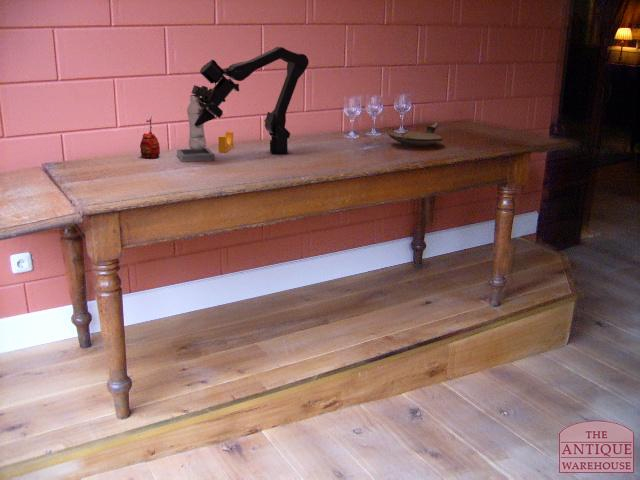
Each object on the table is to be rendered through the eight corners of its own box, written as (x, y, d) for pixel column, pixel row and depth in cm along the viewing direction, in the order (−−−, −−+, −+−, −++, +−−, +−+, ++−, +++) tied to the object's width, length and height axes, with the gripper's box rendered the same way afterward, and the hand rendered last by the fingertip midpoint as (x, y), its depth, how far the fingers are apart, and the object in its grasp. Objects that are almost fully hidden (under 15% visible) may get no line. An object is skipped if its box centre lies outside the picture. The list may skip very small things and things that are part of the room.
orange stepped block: (223, 147, 271) (222, 131, 269) (233, 147, 270) (233, 131, 268) (214, 152, 260) (214, 136, 258) (225, 153, 259) (224, 136, 257)
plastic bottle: (190, 152, 242) (186, 96, 235) (188, 148, 248) (184, 94, 241) (207, 151, 243) (204, 96, 237) (205, 147, 249) (202, 94, 243)
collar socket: (208, 153, 257) (207, 147, 256) (214, 159, 247) (214, 153, 246) (177, 155, 253) (176, 149, 252) (182, 162, 242) (182, 155, 242)
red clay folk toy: (136, 157, 248) (133, 117, 243) (147, 154, 255) (144, 115, 250) (154, 159, 246) (151, 119, 241) (164, 156, 252) (162, 116, 247)
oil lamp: (375, 143, 282) (376, 126, 279) (429, 138, 297) (430, 121, 294) (408, 153, 264) (409, 134, 261) (464, 146, 279) (465, 128, 276)
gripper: (196, 74, 246) (169, 106, 245) (212, 79, 231) (183, 113, 230) (217, 95, 252) (191, 126, 251) (234, 101, 237) (206, 134, 236)
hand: (192, 124), depth 242 cm, fingers closed on plastic bottle, 6 cm apart
